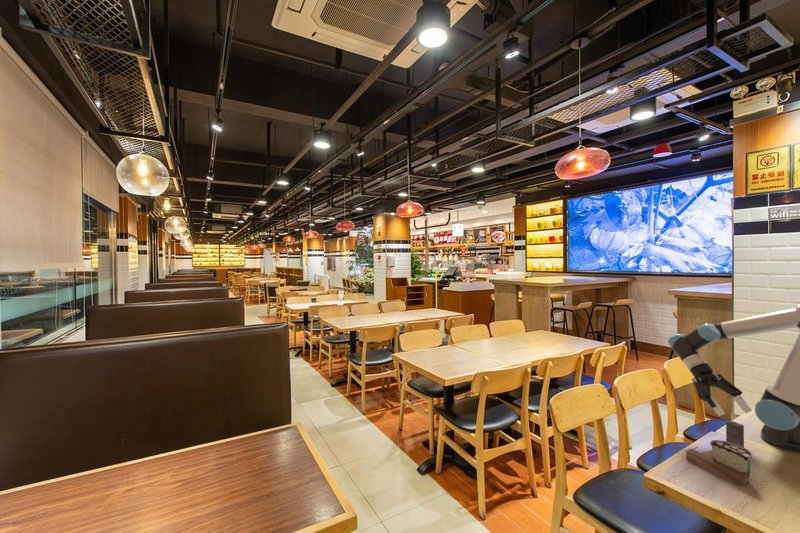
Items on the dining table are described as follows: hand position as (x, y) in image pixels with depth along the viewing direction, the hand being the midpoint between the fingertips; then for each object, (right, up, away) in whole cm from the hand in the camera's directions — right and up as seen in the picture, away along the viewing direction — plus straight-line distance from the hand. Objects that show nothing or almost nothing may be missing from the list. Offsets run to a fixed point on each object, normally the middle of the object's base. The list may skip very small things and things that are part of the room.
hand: (735, 413), depth 143 cm
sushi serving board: (-12, -14, -12) cm, 22 cm away
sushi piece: (-17, -15, -18) cm, 29 cm away
